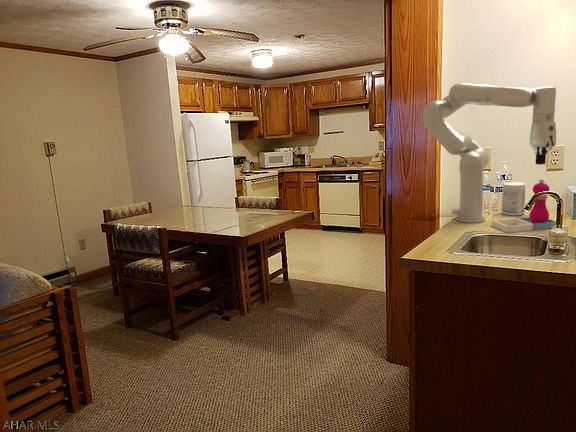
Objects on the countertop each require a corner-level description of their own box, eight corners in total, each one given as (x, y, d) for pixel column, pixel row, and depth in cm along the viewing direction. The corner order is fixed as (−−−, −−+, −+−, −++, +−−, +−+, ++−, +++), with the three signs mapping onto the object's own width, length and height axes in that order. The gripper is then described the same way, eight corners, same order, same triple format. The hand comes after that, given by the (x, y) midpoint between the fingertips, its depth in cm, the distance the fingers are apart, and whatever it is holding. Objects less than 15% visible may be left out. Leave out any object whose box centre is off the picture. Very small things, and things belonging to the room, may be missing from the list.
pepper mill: (551, 228, 175) (554, 180, 170) (532, 228, 176) (535, 180, 172) (544, 223, 182) (547, 177, 177) (526, 224, 183) (529, 178, 179)
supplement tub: (514, 210, 208) (515, 181, 205) (529, 214, 199) (530, 183, 196) (497, 213, 206) (498, 183, 203) (511, 216, 197) (512, 185, 194)
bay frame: (507, 232, 173) (507, 226, 172) (491, 225, 184) (491, 220, 183) (558, 227, 175) (559, 221, 174) (539, 221, 186) (539, 216, 185)
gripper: (565, 117, 163) (562, 165, 167) (539, 118, 178) (536, 162, 182) (547, 118, 162) (544, 166, 166) (522, 119, 177) (520, 163, 181)
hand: (540, 164), depth 174 cm, fingers closed
